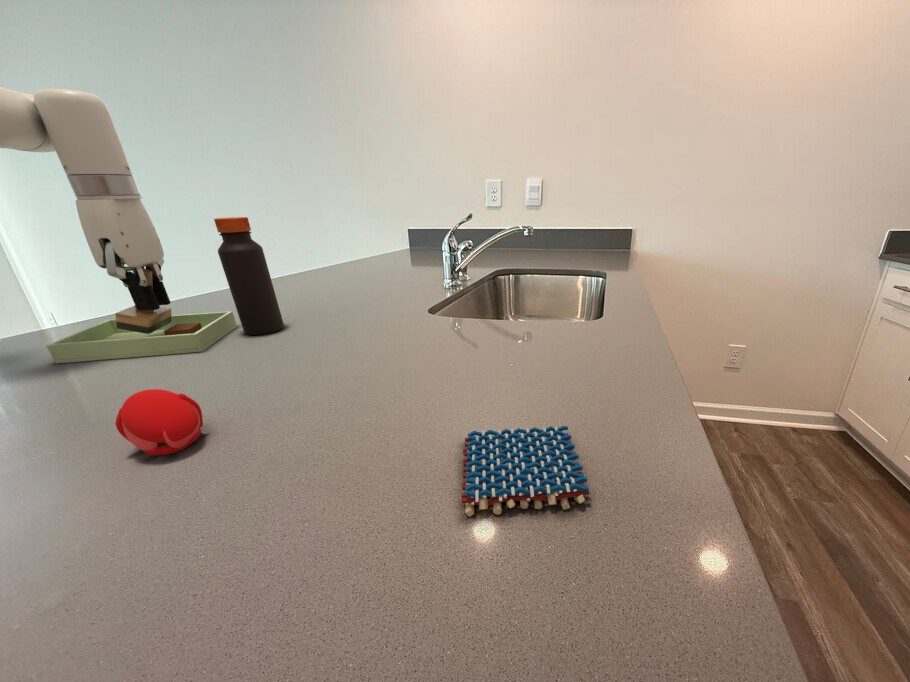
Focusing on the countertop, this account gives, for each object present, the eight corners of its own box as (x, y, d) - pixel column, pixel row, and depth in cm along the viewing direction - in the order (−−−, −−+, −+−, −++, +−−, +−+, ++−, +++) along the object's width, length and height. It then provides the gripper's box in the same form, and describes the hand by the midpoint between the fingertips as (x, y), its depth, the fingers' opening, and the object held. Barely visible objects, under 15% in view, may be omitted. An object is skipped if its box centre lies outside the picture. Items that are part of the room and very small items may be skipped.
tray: (55, 363, 65) (45, 345, 63) (116, 335, 77) (108, 319, 76) (202, 351, 68) (195, 334, 67) (237, 326, 81) (232, 311, 79)
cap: (226, 435, 44) (206, 385, 42) (167, 467, 39) (140, 413, 37) (179, 422, 47) (158, 375, 44) (118, 450, 42) (90, 399, 39)
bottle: (272, 335, 75) (238, 218, 66) (236, 336, 75) (197, 219, 66) (291, 324, 81) (261, 216, 72) (257, 325, 81) (224, 217, 72)
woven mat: (464, 444, 42) (462, 427, 41) (566, 438, 42) (567, 421, 41) (459, 518, 32) (458, 498, 31) (591, 509, 33) (593, 489, 32)
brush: (148, 334, 69) (145, 277, 65) (116, 328, 67) (111, 270, 64) (171, 322, 75) (170, 270, 71) (142, 316, 74) (139, 263, 70)
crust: (167, 342, 71) (163, 331, 70) (180, 334, 75) (175, 324, 74) (193, 340, 72) (189, 329, 71) (204, 333, 75) (200, 322, 74)
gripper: (114, 189, 69) (157, 297, 77) (32, 189, 54) (96, 322, 62) (164, 188, 70) (201, 295, 78) (97, 188, 56) (151, 318, 64)
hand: (154, 306), depth 70 cm, fingers closed on brush, 2 cm apart
